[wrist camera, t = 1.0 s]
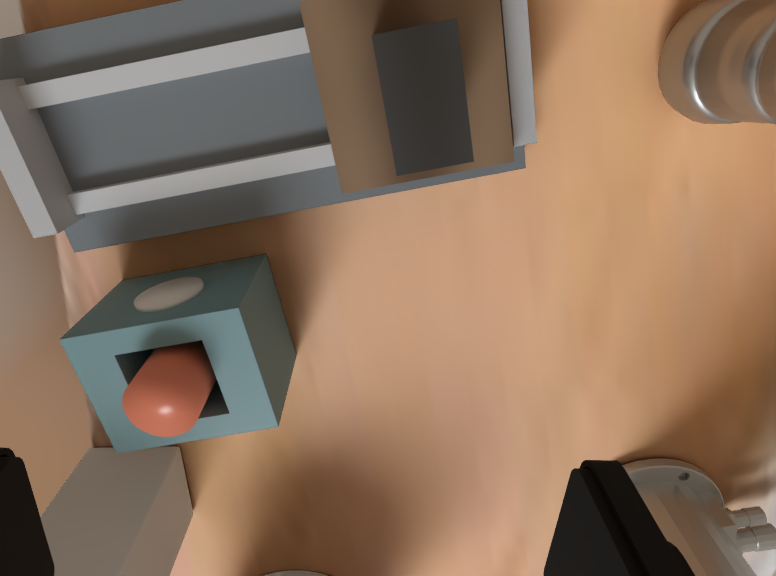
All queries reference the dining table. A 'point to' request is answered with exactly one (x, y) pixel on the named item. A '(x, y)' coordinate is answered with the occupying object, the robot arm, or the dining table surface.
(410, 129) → the carriage
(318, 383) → the dining table surface
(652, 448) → the dining table surface
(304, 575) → the utensil holder
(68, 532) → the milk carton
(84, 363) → the cabinet
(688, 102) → the plastic bottle
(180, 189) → the rail board
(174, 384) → the button
